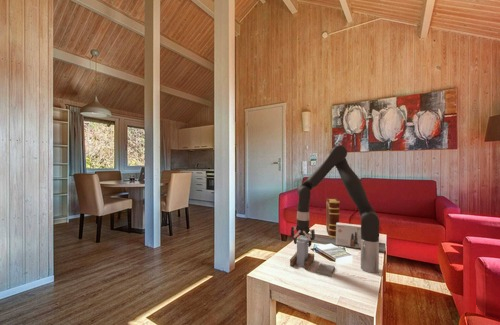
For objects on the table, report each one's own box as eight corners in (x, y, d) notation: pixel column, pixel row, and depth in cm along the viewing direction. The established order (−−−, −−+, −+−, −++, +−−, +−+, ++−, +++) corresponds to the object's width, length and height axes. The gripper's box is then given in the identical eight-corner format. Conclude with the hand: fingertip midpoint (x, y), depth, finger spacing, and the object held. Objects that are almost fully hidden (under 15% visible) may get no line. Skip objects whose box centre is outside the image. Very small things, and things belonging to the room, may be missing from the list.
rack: (314, 260, 145) (314, 253, 145) (307, 270, 131) (307, 263, 131) (297, 256, 150) (297, 250, 150) (289, 266, 136) (290, 259, 136)
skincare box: (335, 245, 172) (336, 224, 172) (336, 242, 177) (336, 222, 177) (367, 249, 164) (367, 227, 164) (366, 246, 169) (366, 225, 169)
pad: (334, 267, 135) (334, 266, 135) (330, 276, 124) (330, 274, 124) (320, 264, 138) (320, 263, 138) (315, 272, 128) (315, 271, 128)
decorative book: (339, 238, 188) (340, 201, 188) (329, 237, 190) (329, 201, 190) (335, 230, 210) (335, 197, 210) (326, 229, 212) (326, 197, 212)
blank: (308, 261, 143) (308, 238, 144) (304, 266, 136) (304, 242, 136) (301, 259, 146) (301, 237, 146) (296, 265, 138) (296, 241, 138)
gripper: (316, 219, 141) (315, 245, 141) (293, 215, 148) (293, 241, 148) (313, 221, 134) (312, 249, 134) (289, 218, 141) (289, 244, 141)
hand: (302, 245), depth 141 cm, fingers open, 8 cm apart
